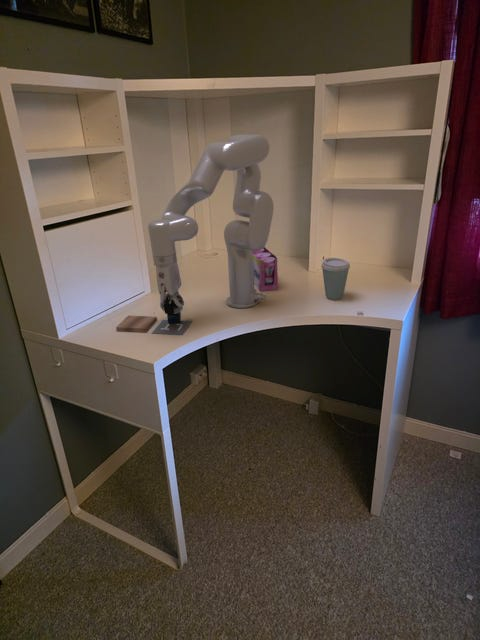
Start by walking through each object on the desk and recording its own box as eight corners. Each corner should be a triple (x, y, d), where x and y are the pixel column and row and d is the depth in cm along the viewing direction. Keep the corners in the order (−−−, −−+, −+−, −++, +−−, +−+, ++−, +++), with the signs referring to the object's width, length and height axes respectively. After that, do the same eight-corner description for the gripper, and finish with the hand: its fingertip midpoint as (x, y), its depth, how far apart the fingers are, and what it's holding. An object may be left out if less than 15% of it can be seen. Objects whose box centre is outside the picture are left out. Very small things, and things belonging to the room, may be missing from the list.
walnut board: (157, 320, 154) (156, 316, 153) (146, 332, 145) (146, 328, 144) (129, 319, 156) (128, 315, 155) (116, 331, 147) (115, 327, 146)
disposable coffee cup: (352, 295, 168) (354, 258, 162) (342, 304, 160) (344, 266, 154) (326, 291, 173) (328, 255, 167) (315, 299, 165) (317, 262, 159)
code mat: (192, 321, 152) (192, 320, 151) (182, 335, 142) (182, 334, 142) (163, 320, 154) (163, 319, 154) (151, 333, 144) (151, 332, 144)
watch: (186, 322, 148) (182, 299, 140) (163, 324, 148) (158, 302, 140) (186, 310, 152) (182, 288, 144) (163, 313, 151) (158, 290, 143)
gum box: (279, 290, 176) (279, 259, 171) (260, 293, 175) (260, 261, 169) (263, 273, 198) (263, 244, 192) (247, 275, 196) (246, 246, 191)
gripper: (167, 267, 130) (175, 321, 137) (184, 251, 145) (190, 300, 152) (144, 267, 131) (153, 320, 139) (163, 251, 146) (170, 299, 154)
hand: (172, 309), depth 146 cm, fingers closed on watch, 5 cm apart
